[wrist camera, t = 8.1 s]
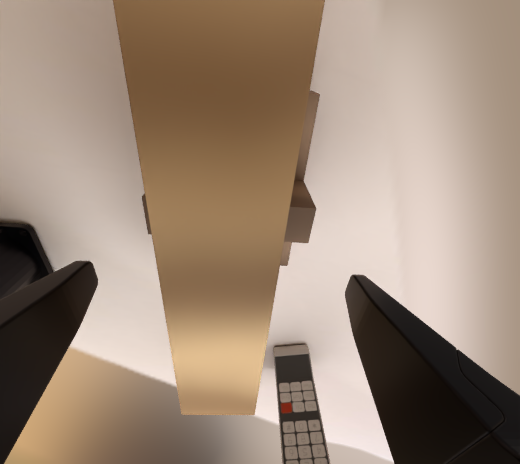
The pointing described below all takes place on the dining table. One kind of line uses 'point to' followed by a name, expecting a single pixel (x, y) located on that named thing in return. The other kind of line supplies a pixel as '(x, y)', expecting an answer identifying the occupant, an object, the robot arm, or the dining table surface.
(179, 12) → the light wooden block
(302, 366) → the vintage mobile phone
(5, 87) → the dining table surface
